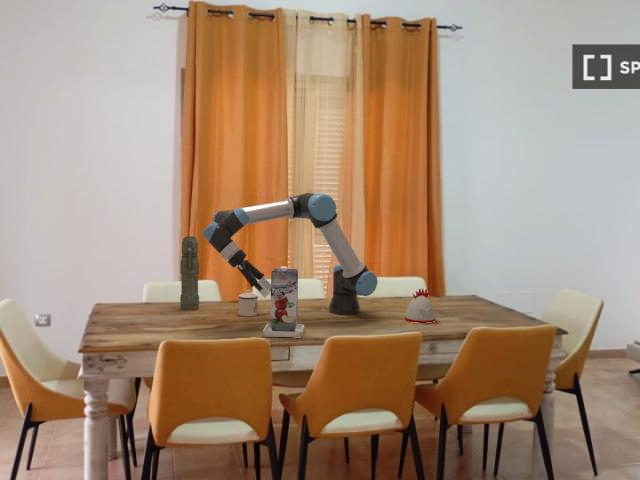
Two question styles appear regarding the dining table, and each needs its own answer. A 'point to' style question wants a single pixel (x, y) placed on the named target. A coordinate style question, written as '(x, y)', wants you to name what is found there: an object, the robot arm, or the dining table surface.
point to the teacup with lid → (248, 304)
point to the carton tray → (283, 332)
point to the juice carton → (284, 299)
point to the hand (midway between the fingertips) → (269, 292)
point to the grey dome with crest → (420, 308)
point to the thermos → (189, 274)
